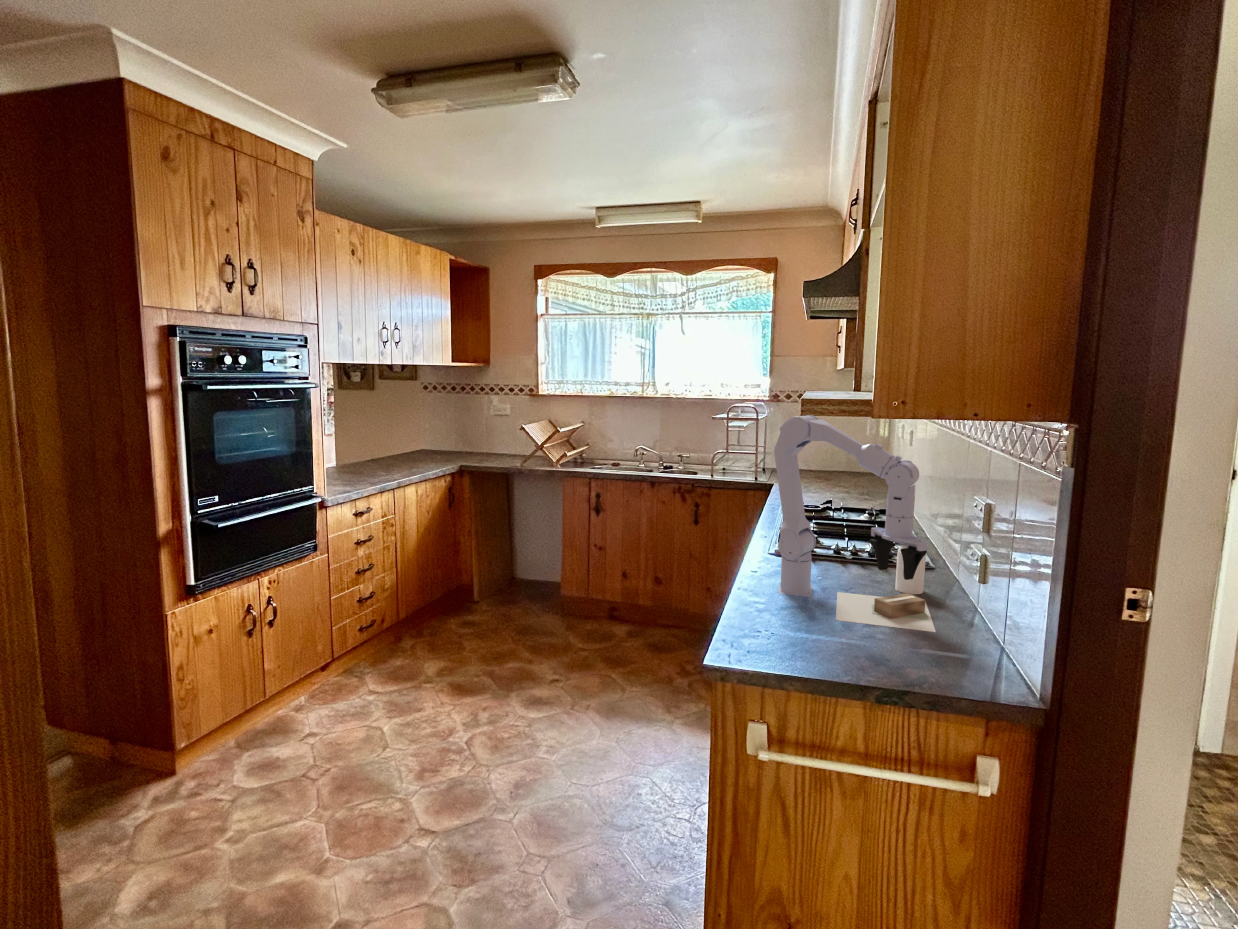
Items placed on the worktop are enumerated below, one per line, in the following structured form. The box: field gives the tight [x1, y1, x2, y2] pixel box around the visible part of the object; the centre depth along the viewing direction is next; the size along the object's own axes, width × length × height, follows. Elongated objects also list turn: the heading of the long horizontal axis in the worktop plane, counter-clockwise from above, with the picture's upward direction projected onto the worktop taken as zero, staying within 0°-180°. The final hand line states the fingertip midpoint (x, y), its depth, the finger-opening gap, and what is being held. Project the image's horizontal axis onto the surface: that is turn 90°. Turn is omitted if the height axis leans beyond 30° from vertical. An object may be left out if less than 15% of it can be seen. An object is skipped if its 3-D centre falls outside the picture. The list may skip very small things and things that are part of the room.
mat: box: [835, 591, 936, 633], centre depth 152 cm, size 20×20×1 cm
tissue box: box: [874, 593, 926, 619], centre depth 150 cm, size 10×5×3 cm, turn 112°
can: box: [894, 544, 927, 595], centre depth 165 cm, size 6×6×12 cm
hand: (895, 574), depth 150 cm, fingers open, 7 cm apart
